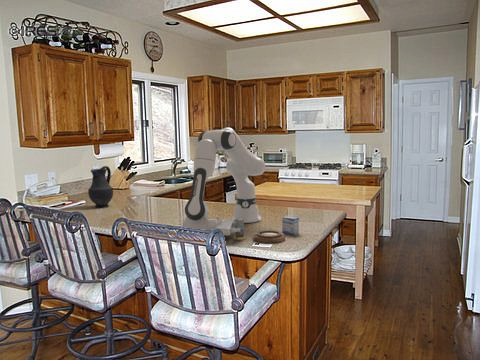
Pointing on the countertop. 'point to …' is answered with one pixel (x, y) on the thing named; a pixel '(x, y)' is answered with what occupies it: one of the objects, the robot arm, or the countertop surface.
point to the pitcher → (101, 187)
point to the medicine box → (290, 225)
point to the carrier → (269, 236)
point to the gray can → (240, 234)
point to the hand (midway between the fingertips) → (241, 227)
